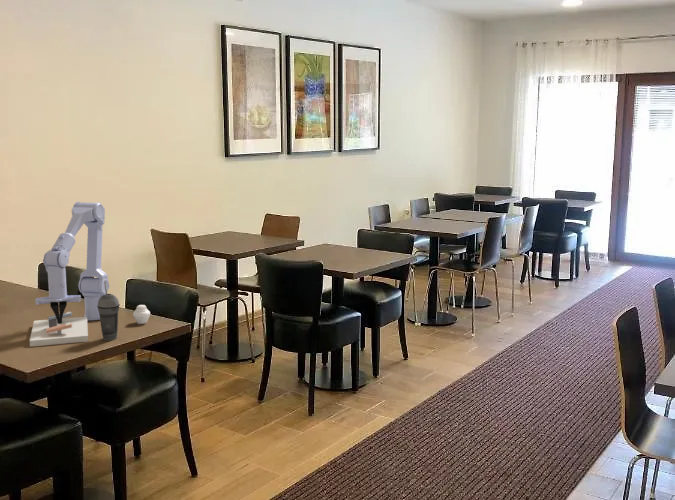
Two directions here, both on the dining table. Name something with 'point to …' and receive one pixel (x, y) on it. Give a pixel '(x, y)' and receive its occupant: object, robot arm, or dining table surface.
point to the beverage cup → (108, 315)
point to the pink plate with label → (59, 327)
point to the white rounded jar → (141, 314)
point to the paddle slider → (52, 322)
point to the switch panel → (59, 332)
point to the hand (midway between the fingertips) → (59, 322)
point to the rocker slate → (63, 315)
